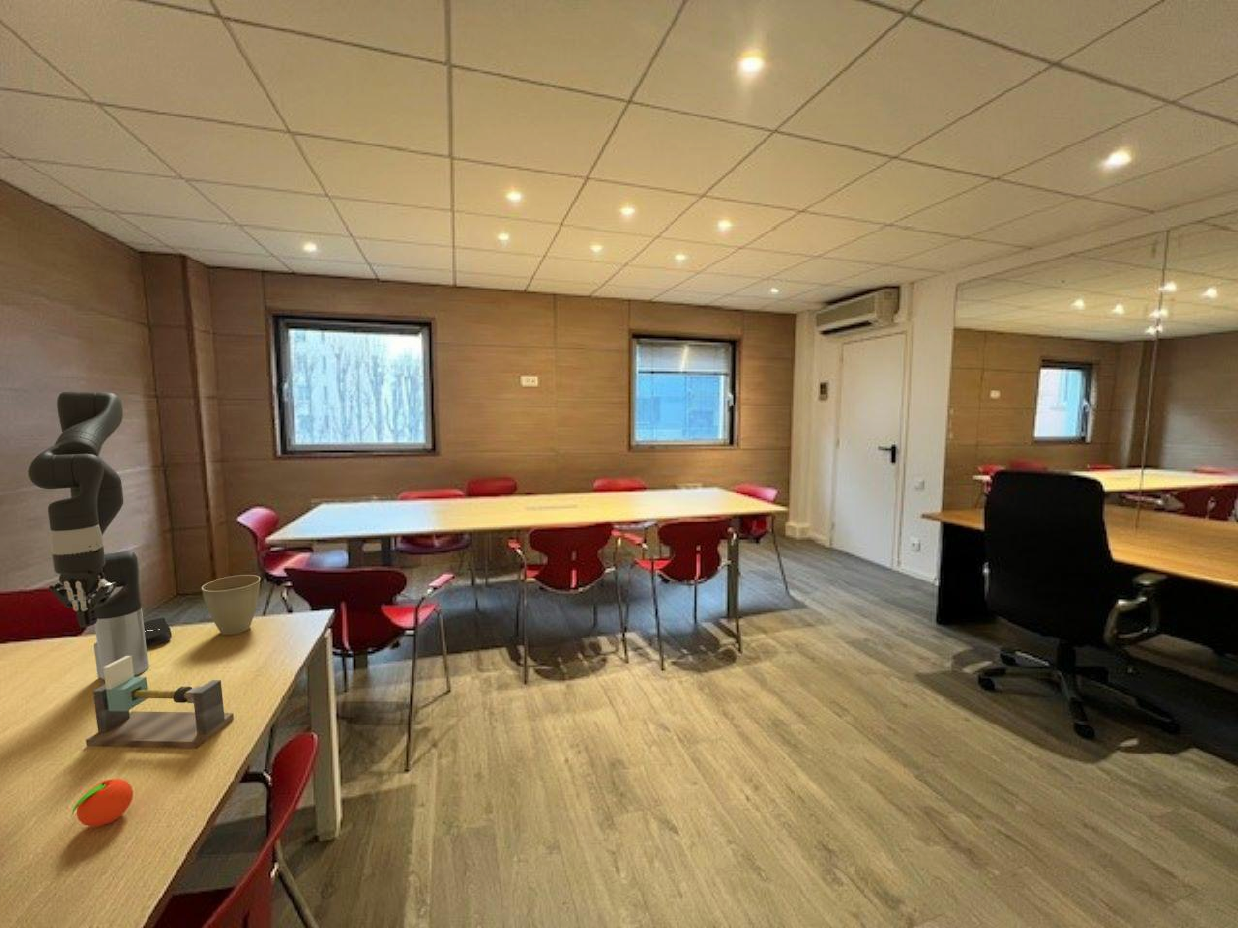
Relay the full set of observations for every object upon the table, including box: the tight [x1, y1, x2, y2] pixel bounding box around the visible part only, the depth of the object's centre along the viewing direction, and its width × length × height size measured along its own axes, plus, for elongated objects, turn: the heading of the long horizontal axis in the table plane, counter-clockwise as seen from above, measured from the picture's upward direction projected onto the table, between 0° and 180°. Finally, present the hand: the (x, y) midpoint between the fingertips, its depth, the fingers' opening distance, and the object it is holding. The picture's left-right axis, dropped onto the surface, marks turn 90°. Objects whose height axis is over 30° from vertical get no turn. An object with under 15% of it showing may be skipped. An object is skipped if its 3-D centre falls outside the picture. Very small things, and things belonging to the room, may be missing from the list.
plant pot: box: [201, 574, 261, 636], centre depth 162 cm, size 15×15×16 cm
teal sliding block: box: [103, 656, 149, 711], centre depth 111 cm, size 4×5×10 cm
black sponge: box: [144, 617, 173, 648], centre depth 157 cm, size 16×8×4 cm, turn 48°
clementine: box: [70, 778, 134, 828], centre depth 88 cm, size 8×7×7 cm
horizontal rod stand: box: [85, 679, 235, 749], centre depth 112 cm, size 24×10×11 cm, turn 89°
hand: (88, 625), depth 110 cm, fingers closed
